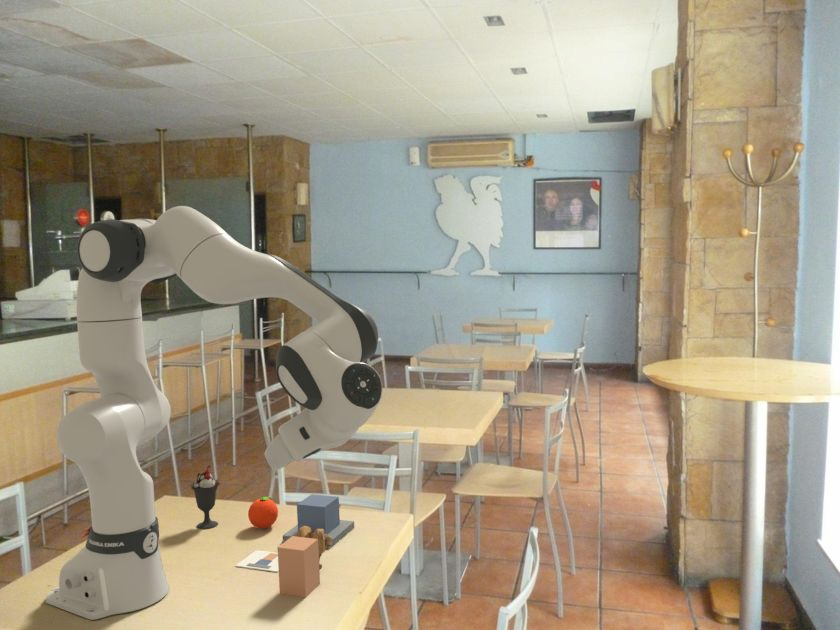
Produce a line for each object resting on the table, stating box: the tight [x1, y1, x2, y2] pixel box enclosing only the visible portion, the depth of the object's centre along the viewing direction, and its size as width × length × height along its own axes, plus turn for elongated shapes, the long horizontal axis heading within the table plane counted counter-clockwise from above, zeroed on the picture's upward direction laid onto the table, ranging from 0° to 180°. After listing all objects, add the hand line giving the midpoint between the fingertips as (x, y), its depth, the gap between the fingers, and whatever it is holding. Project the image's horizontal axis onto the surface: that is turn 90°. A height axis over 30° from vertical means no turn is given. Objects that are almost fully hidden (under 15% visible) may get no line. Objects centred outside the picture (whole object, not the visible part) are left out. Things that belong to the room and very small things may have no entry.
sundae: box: [190, 464, 221, 530], centre depth 170 cm, size 7×7×15 cm
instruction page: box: [235, 549, 279, 573], centre depth 149 cm, size 10×8×1 cm
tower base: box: [282, 493, 355, 548], centre depth 162 cm, size 12×12×8 cm
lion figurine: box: [297, 526, 333, 569], centre depth 147 cm, size 15×5×9 cm, turn 33°
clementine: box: [247, 496, 279, 529], centre depth 168 cm, size 8×7×7 cm
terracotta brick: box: [277, 536, 321, 598], centre depth 136 cm, size 6×6×9 cm
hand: (308, 446), depth 131 cm, fingers open, 8 cm apart
